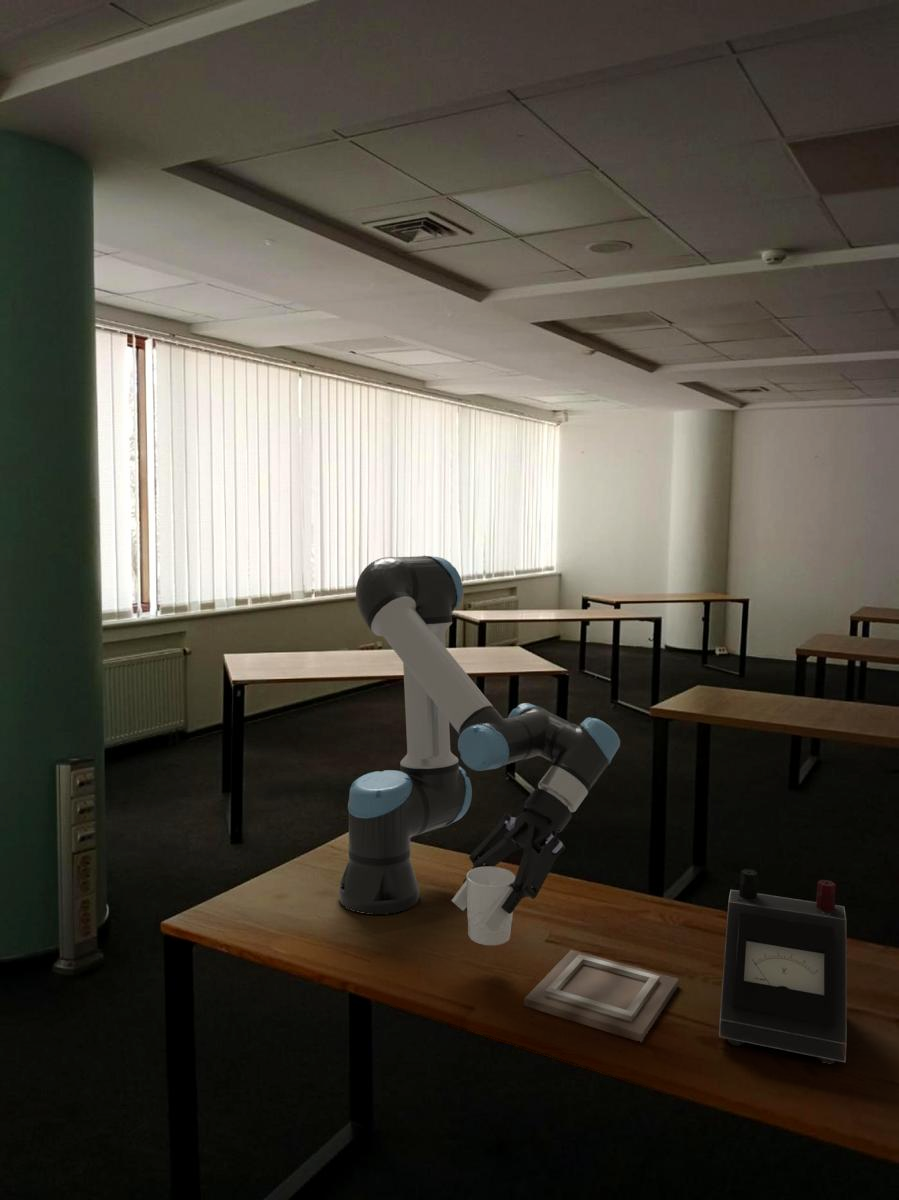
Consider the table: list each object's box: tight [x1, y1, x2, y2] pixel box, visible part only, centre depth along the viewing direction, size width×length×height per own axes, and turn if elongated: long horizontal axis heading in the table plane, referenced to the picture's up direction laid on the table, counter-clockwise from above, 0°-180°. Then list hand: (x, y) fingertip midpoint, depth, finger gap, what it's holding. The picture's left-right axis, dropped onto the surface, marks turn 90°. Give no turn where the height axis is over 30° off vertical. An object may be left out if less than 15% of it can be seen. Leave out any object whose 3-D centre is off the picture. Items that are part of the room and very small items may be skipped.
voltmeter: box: [718, 868, 847, 1063], centre depth 130 cm, size 16×16×20 cm
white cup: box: [466, 866, 516, 946], centre depth 145 cm, size 8×8×10 cm
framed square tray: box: [523, 949, 680, 1043], centre depth 139 cm, size 18×18×2 cm
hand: (473, 915), depth 144 cm, fingers closed on white cup, 8 cm apart
